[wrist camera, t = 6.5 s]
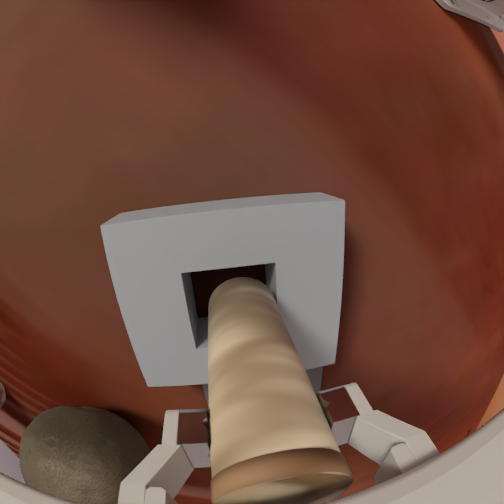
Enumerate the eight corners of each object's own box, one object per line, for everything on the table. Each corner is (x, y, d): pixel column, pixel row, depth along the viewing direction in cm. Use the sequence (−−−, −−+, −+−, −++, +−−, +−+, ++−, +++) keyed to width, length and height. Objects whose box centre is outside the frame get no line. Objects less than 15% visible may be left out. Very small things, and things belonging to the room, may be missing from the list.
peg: (274, 272, 16) (367, 454, 5) (276, 330, 18) (340, 502, 6) (202, 280, 16) (197, 486, 5) (212, 338, 17) (223, 523, 6)
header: (320, 192, 19) (344, 200, 16) (318, 334, 23) (334, 363, 19) (121, 212, 18) (100, 225, 14) (155, 354, 22) (147, 386, 18)
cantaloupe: (189, 422, 25) (191, 550, 11) (127, 458, 27) (116, 549, 13) (73, 347, 21) (8, 478, 6) (36, 401, 22) (-4, 492, 8)
